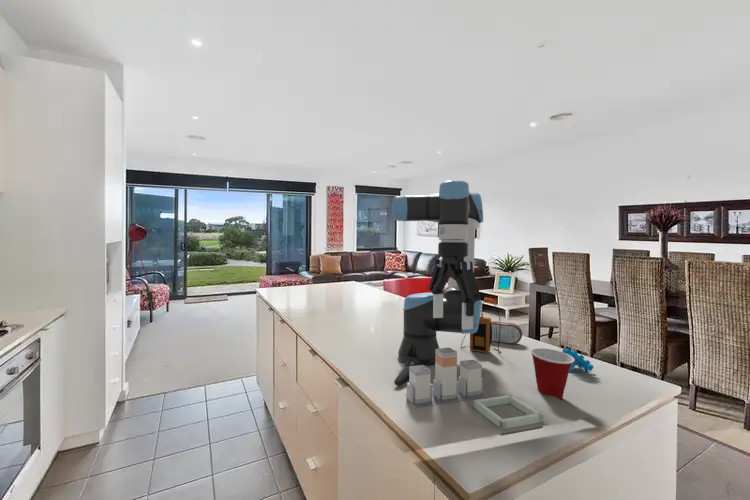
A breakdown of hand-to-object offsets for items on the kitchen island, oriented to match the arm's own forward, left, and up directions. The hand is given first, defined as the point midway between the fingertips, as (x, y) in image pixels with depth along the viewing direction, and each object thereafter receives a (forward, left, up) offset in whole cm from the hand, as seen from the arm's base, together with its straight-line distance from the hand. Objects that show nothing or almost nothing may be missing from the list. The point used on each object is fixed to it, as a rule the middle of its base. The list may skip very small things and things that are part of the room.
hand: (451, 323), depth 94 cm
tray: (+12, +8, -21) cm, 25 cm away
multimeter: (-38, +36, -21) cm, 56 cm away
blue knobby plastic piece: (-9, +52, -21) cm, 56 cm away
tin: (-43, +49, -21) cm, 69 cm away
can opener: (-15, -5, -21) cm, 26 cm away
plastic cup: (+5, +28, -21) cm, 35 cm away
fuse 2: (-1, -1, -19) cm, 19 cm away
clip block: (-1, -1, -21) cm, 21 cm away
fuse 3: (-1, +6, -19) cm, 20 cm away
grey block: (-1, -9, -19) cm, 21 cm away
